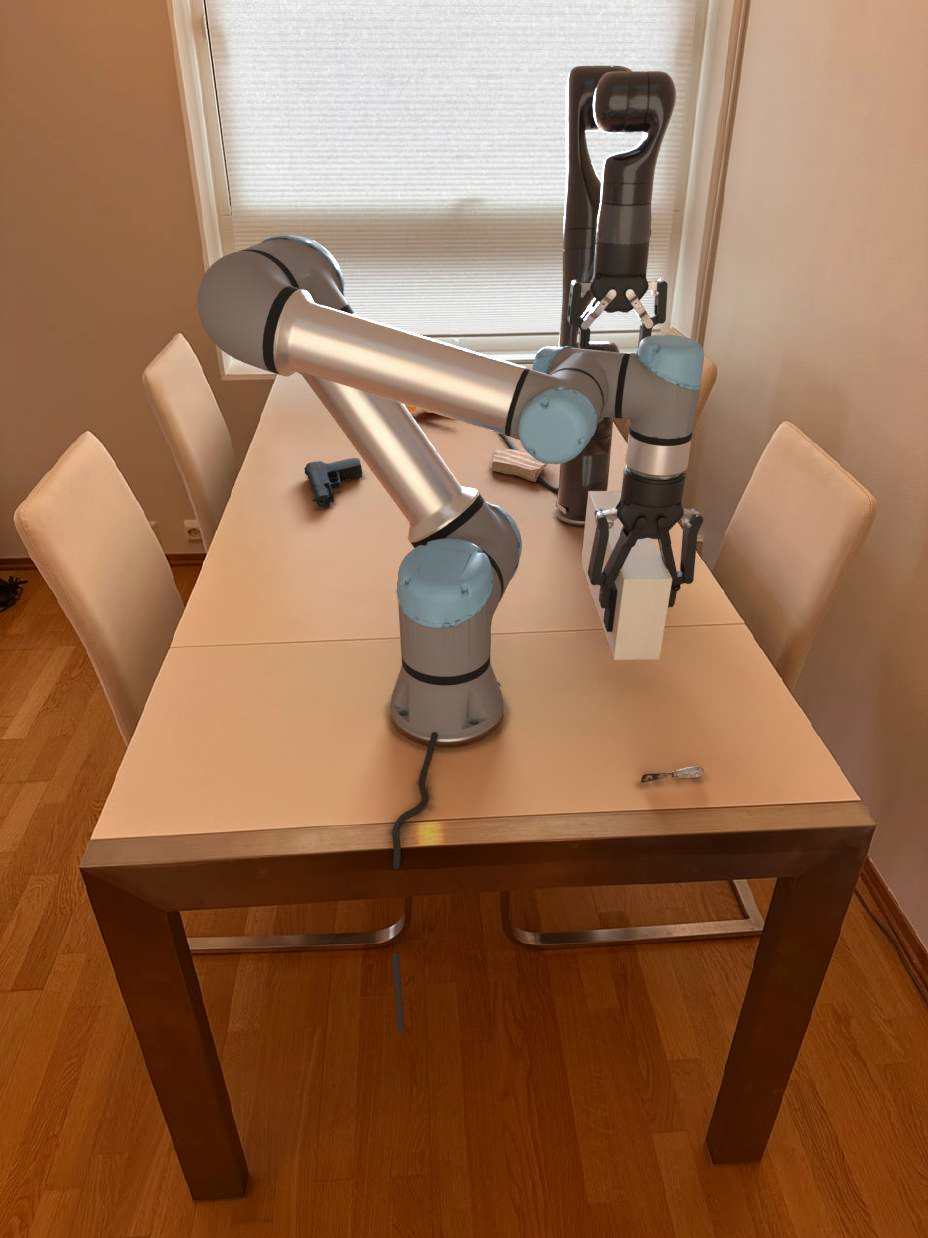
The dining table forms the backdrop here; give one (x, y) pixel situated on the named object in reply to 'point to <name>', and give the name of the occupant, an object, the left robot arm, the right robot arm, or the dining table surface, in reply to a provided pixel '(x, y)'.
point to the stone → (517, 463)
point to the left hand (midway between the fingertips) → (633, 625)
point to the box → (630, 588)
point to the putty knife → (674, 774)
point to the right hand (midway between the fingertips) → (613, 352)
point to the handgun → (330, 477)
